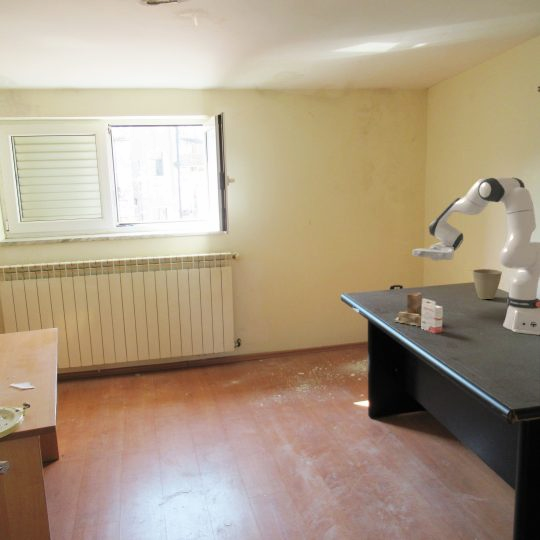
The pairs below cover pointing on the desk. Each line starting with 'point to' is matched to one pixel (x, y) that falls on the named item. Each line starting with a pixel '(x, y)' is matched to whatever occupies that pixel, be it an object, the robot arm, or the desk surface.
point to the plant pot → (486, 282)
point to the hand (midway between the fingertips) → (427, 255)
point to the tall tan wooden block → (414, 303)
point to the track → (409, 318)
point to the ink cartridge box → (431, 316)
